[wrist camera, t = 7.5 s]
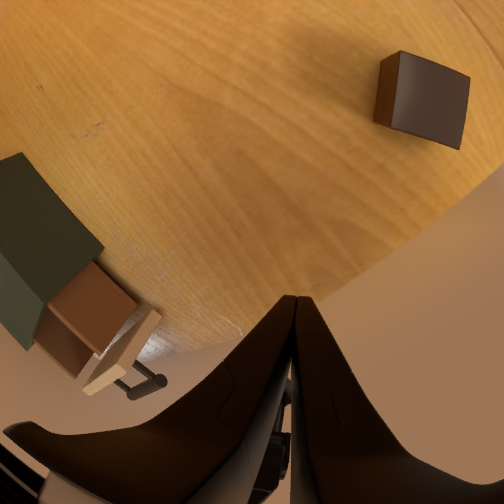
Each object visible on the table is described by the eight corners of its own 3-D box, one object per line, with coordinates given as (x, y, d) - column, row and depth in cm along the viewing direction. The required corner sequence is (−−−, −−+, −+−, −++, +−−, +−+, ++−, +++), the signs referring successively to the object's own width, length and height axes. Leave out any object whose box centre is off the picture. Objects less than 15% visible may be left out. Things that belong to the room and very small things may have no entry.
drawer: (195, 344, 28) (168, 402, 22) (144, 374, 33) (119, 418, 27) (64, 219, 24) (11, 257, 18) (40, 278, 29) (3, 313, 23)
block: (440, 79, 14) (471, 77, 10) (431, 139, 16) (459, 150, 12) (380, 60, 14) (399, 49, 11) (372, 122, 17) (389, 128, 13)
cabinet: (104, 247, 26) (43, 304, 18) (69, 304, 31) (27, 351, 24) (21, 151, 22) (-45, 181, 14) (2, 225, 28) (-46, 259, 20)
